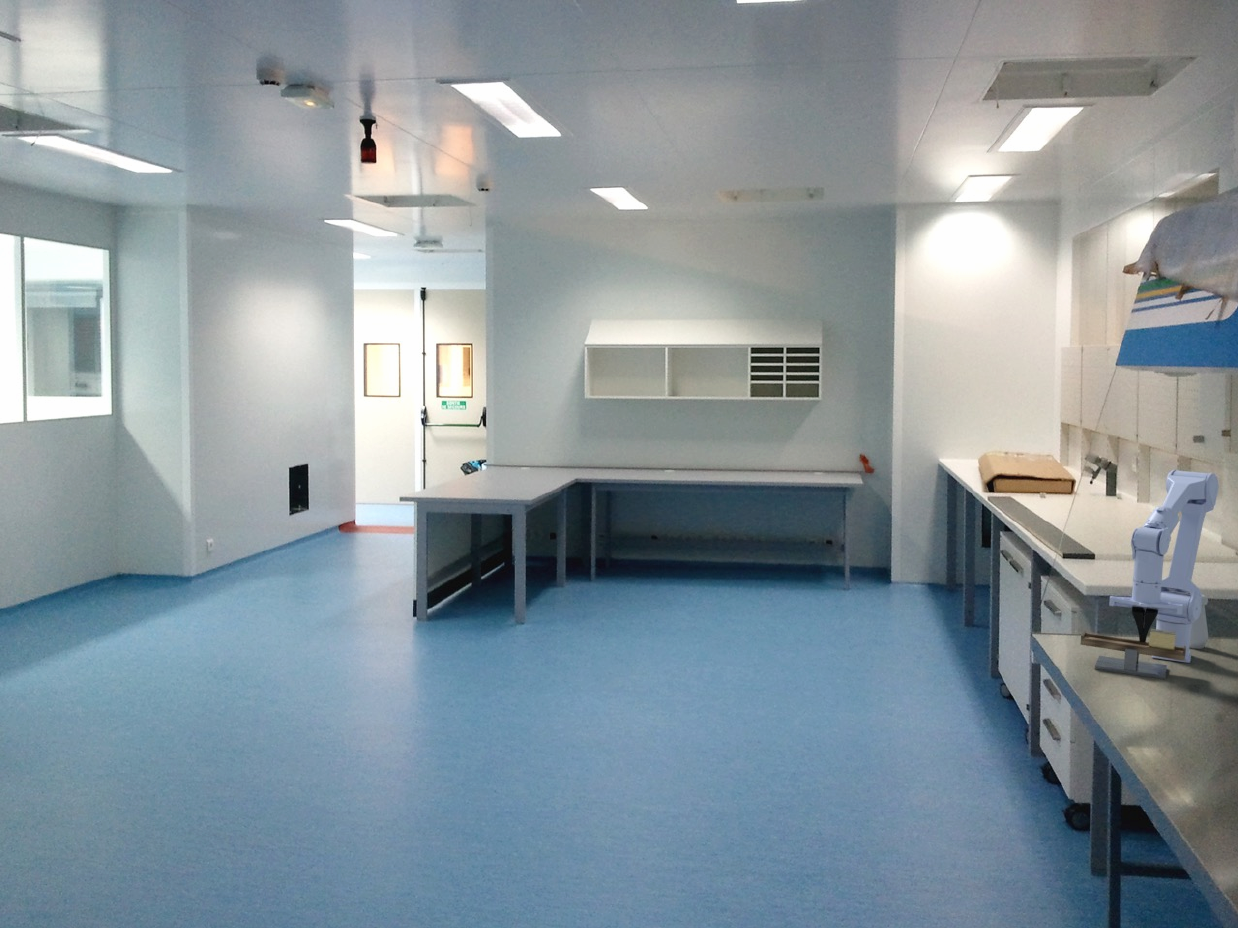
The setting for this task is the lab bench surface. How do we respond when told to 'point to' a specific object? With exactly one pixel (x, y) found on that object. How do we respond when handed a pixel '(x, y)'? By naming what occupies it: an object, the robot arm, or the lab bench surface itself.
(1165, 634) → the block
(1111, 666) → the pivot stand
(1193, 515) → the robot arm
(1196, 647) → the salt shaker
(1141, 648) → the beam
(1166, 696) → the lab bench surface
